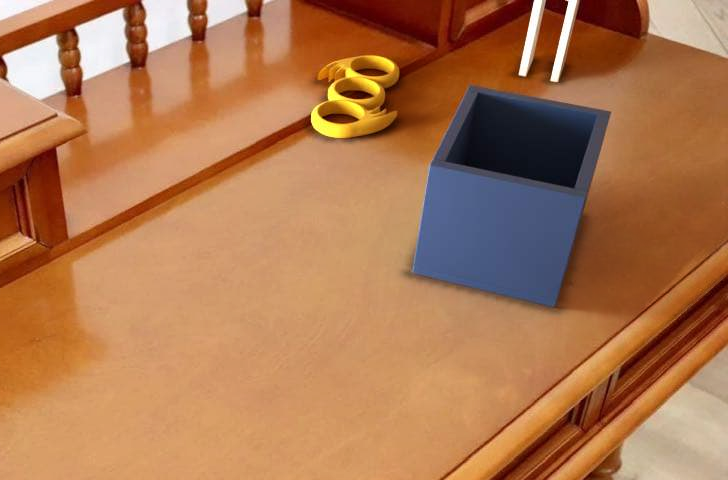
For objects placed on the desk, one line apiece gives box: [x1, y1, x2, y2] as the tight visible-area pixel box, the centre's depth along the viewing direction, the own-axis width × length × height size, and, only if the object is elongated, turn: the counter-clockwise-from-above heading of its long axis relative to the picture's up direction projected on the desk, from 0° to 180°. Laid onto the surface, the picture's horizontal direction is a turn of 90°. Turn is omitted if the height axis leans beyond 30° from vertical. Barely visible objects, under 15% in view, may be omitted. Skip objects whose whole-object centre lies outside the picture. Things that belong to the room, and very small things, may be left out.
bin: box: [412, 84, 612, 308], centre depth 93 cm, size 14×12×11 cm
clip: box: [518, 0, 581, 83], centre depth 116 cm, size 4×4×10 cm
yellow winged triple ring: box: [310, 54, 400, 139], centre depth 115 cm, size 17×2×10 cm
